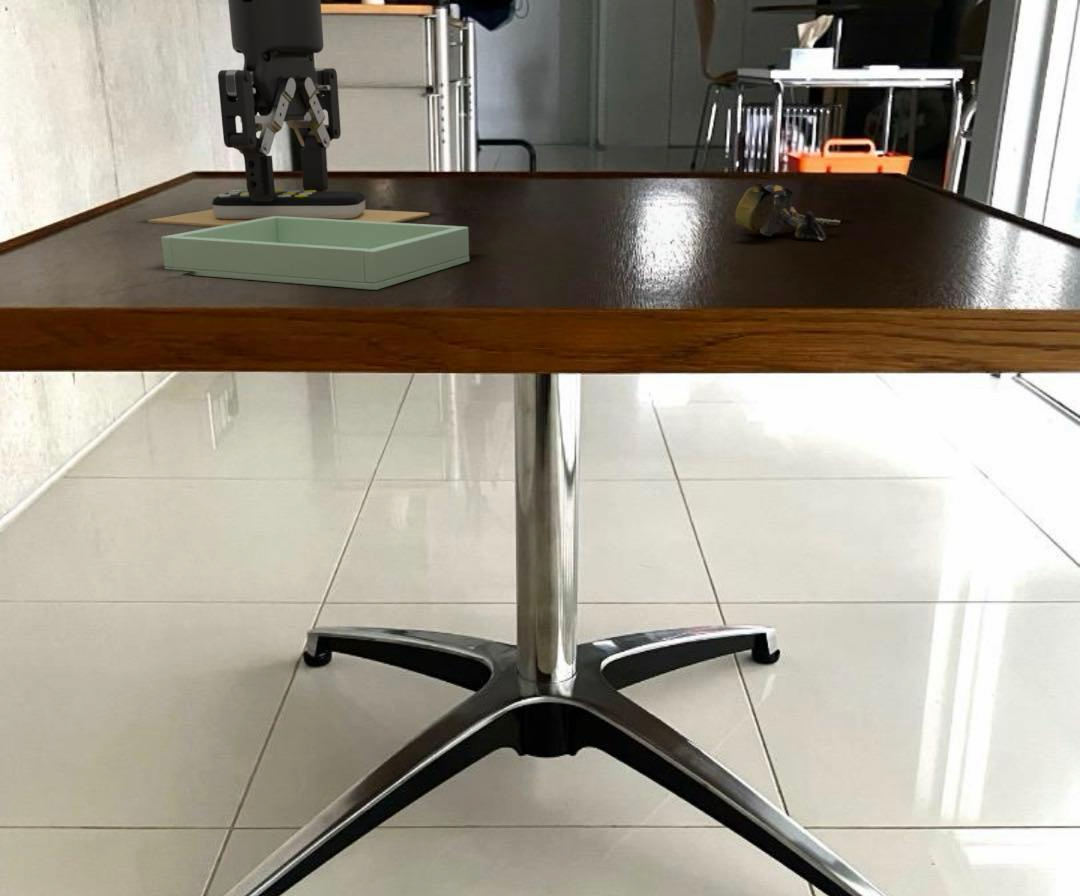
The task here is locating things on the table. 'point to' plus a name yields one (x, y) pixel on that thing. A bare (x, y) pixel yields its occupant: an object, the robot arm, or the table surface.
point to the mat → (211, 220)
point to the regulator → (776, 213)
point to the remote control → (290, 205)
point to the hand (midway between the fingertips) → (289, 196)
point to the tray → (318, 251)
